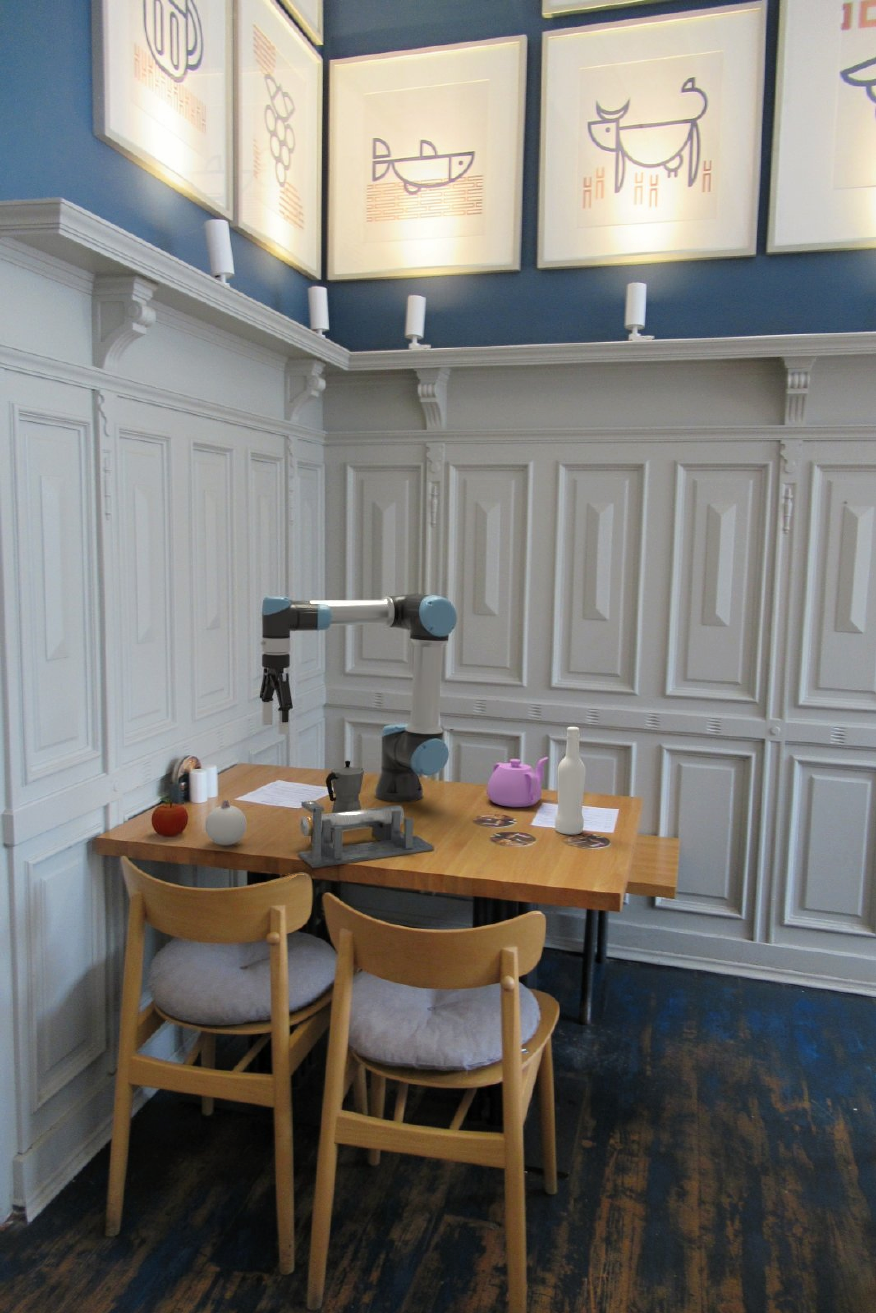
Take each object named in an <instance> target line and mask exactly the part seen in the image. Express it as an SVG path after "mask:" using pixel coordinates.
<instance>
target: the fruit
mask: <svg viewBox="0 0 876 1313" xmlns="http://www.w3.org/2000/svg"><path fill="white" fill-rule="evenodd" d="M159 801H163V802H165V804H162V805H159V806H157V807H156V808H155V809H154V810H153V811H152V812H153V813H152V814H151V825H152V828H153V830H154V832H155V833H156V834H157V835H159V836H161V837H166V838H167V837H169V838H170V837H177V836H178V835H180V834H182V833H183V832H184V830H185V829H186V827H187V825H188V822H189V814H188V812H187V809H186V808H185V807H184V806H183V805H182V804H178V803H173V801H172V799H170V798H169V797H162V798H160V799H159Z"/></svg>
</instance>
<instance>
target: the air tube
mask: <svg viewBox="0 0 876 1313" xmlns="http://www.w3.org/2000/svg"><path fill="white" fill-rule="evenodd" d="M397 810H399V811H401V815H400V824H403V823H404V818H405V812H404V809H403V806H402V805H401V804H400V805H399V804H396V805H389V806H381V807H373V808H364V809H361V810H354V811H346V812H338V813H332V812H330V813H322V820H325V819H330V820H331V830H332V831H333V827H340V826H341V827H342V828H343V831H342V832H346V831H352V830H354V831H355V830H361V829H368V828H372V827H378V826H383V823H389V822H392V811H397ZM322 820H321V831H322ZM300 831H301V834H302V835H303V836H304V837H311V835H313V815H304V816H302V817H301V819H300Z"/></svg>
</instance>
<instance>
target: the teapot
mask: <svg viewBox="0 0 876 1313" xmlns="http://www.w3.org/2000/svg"><path fill="white" fill-rule="evenodd" d="M548 759H549V756H545V757H542V758H541V759H539V761H538V762H537V765H536V768H535V771H534V769H533V768H532V766H530V765H528V764H526V763H525V764H524V763H521V762H522V761H521V759H518V758H511V759H509V762H508V763H507V762H506V763H503V762H497V763H495V764H494V765H493V767H492V768H493V769H492V770H493V771H492V772H493V773H492V775H491V776H490V778H489V780H488V784H487V787H486V794H487V796H488V798H489V799H490V800H491V802H492V803H494V804H497V805H499V806H504V807H508V808H511V809H513V808H523V807H524V808H527V807H531V806H534V805H536V803H538V801H539V800H540V799H541V797H542V788H541V787H542V786H541V785H543V782H544V767H545V765H544V764H545V763H546V761H547V760H548Z"/></svg>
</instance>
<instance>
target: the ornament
mask: <svg viewBox="0 0 876 1313" xmlns="http://www.w3.org/2000/svg"><path fill="white" fill-rule="evenodd" d="M247 826H248V825H247V819H246V816H245V814H244V812H243V811H242V810H241V809H240V808H238V807H236V806H234V805H230V803H229V801H228V800H227V799H224V800H223V801H222V804H221V805H220V806H217V807H215V808H214V809H212V810H211V811H210V812H209V813H208V815H207V817H206V819H205V826H204V828H205V832H206V834H207V837H208V839H209V840H211V841H212V842H213V843H214V844H217V845H218V846H219V845H220V846H231V845H233V844H236V843H238V842H239V841H240V840H241V839H242V838H243V837H244V835H245V834H246V830H247Z"/></svg>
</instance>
